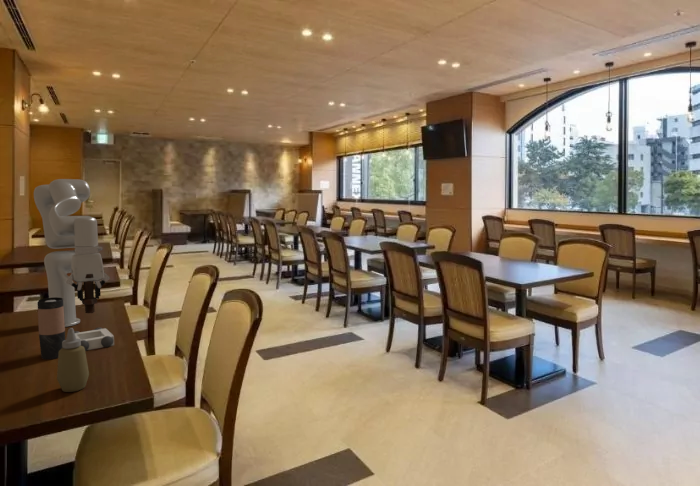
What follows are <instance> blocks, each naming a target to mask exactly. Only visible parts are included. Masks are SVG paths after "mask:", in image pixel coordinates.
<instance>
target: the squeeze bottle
mask: <svg viewBox="0 0 700 486" xmlns="http://www.w3.org/2000/svg"><path fill="white" fill-rule="evenodd" d="M74 331H75V330H74V328H73V327H69V328H68V330H67V334H66V338H65V340H64V341H63V342H62V347H63V348H62V349H61V350H60V351H59V355H58V358H57V372H56V373H57V374H56V380H57V382H58V384H59V387H60V388H61V391H62V392H66V393H72V392H73V393H74V392H78V391H80V390H83V389H84V388H85V387H86V386H87V381H88V379H89V376H90V372H89V365H88V359H87V354H86V353H87V352H86V351H85V348H84V347H83V346H81V340H80V339H76V336H75V333H74Z"/></svg>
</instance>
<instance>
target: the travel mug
mask: <svg viewBox="0 0 700 486" xmlns="http://www.w3.org/2000/svg"><path fill="white" fill-rule="evenodd" d="M37 318H38V319H37V320H38V321H37V322H38V338H39V339H38V340H39V347H40V349H39V350H40V358H41V359H42V360H56V359H58V355H59V351H60V350H61V349H62V348H63V347H62V342H63V341H64V340H66V327H65V322H64V307H63V298H58V297H54V298H49V297H45V298H40V299H39V300H38V301H37Z"/></svg>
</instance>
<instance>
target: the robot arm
mask: <svg viewBox="0 0 700 486" xmlns="http://www.w3.org/2000/svg"><path fill="white" fill-rule="evenodd" d="M90 195H91V188H90V185H89V183H88V182H87V181H86V180H83V179H77V178H76V179H73V178H58V179H54V180H53V181H50V183H49V184H41V185H38V186H36V187H35V188H34V190H33V199H34V203H35V206H36V209H37V210H38V212H39V213H40V216H41V219H42V225H43V226H42V227H43V233H44V240H45V244H46V246H47V247H48V248H49V249H56V250H57V249H70V248H71V249H73V248H74V250H57V251H51V252H49V253H47V254H46V255H45V256H44V258H43V259H44V260H43V263H44V268H45V272H46V278H47V288H48V289H47V290H48V298H54V297H58V298H63V307H64V322H65V328H67V327H71V326H76V325H78V324H80V323H81V319H80V318H78V317H77V313H76V295H75V293H76V292H75V289H76V291H77V299H79V301H80V302H82V301H83V299H84V289H82V287H83V284H84V282H87V281H93V282H94V283H95V286H94V297H95V298H96V299H97V300H98V299H100V297H101V295H102V294H101V293H102V292H101V288H102V287H103V285H105V283H106V282H108V281H109V280H110V279H111V277H110V276H109V275H108V274H107V273H106V272H105V271H104V264H103V259H102V255H101V253H100V251H103V249H104V247H103V246H100V245H99V235H98V221H97V219H96V217H94V216H93V217H92V216H90V215H73V214H75V213H76V212H78V211H79V210H80V208H81V206H82V204H83V202H84V203H85V201H87V200H88V199H89V198H90ZM68 274H70V275H68ZM86 274H93V277H94V278H85V277H86Z"/></svg>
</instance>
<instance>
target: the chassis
mask: <svg viewBox="0 0 700 486" xmlns="http://www.w3.org/2000/svg"><path fill="white" fill-rule="evenodd" d="M74 333H75V336H76V339H80V340H81V346H83V347H84V348H85V352H86V351H90V350H97V349H101V348H110V347H113V346H115V336H114V334H113V333H112V332H110V331H109V330H108V328H105V327H104V328H102V327H95V328H94V329H92V330H87V331H81V332H80V331H78V330H77V331H76V330H74Z"/></svg>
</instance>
